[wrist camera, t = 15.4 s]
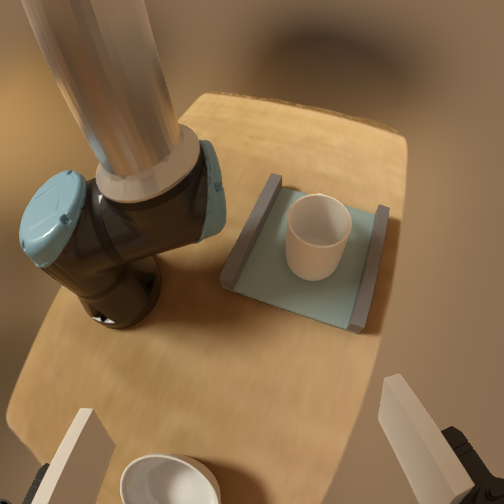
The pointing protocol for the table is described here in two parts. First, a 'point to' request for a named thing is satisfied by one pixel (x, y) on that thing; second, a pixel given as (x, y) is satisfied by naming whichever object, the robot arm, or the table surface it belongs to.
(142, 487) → the ramekin
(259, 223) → the tray with side rails
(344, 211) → the mug
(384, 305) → the table surface
